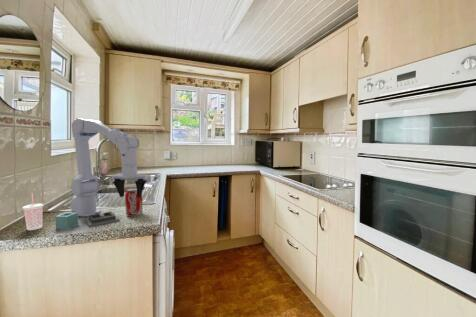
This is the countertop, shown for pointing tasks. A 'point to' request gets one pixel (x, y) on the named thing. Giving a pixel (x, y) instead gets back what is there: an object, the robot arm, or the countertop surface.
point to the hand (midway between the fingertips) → (130, 196)
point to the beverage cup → (33, 215)
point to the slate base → (100, 222)
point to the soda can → (133, 203)
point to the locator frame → (101, 218)
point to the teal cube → (66, 220)
